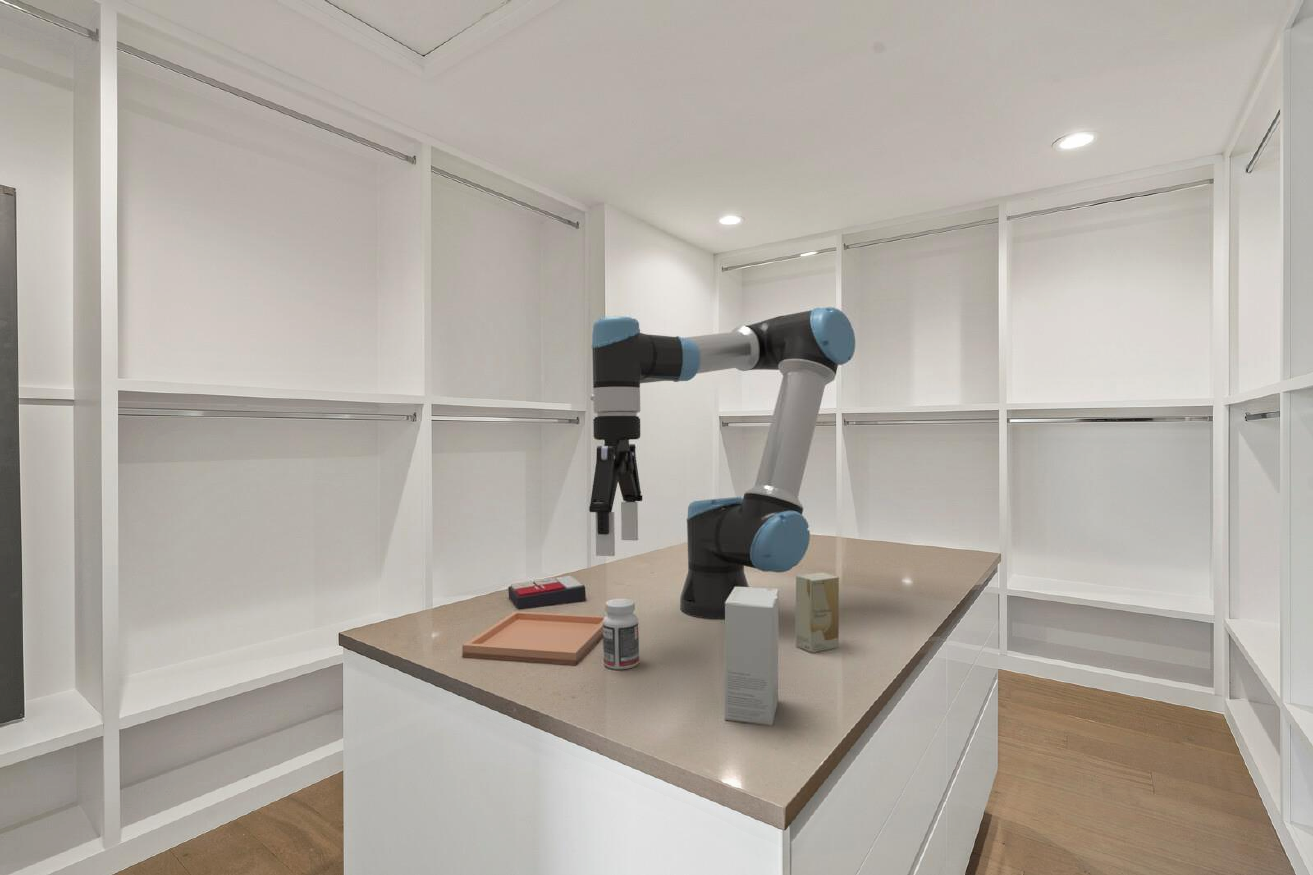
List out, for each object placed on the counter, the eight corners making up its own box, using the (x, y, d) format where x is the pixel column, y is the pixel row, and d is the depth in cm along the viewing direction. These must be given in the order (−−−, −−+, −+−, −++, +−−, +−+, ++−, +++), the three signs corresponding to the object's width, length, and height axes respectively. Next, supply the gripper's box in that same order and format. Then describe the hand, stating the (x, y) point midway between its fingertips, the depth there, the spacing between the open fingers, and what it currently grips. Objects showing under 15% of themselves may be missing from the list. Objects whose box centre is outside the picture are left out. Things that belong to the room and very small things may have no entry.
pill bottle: (641, 658, 105) (640, 598, 105) (636, 671, 99) (635, 607, 99) (606, 657, 105) (606, 597, 105) (600, 670, 100) (599, 607, 100)
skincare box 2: (811, 654, 106) (810, 580, 106) (794, 646, 110) (793, 575, 109) (840, 647, 109) (840, 576, 108) (823, 640, 112) (822, 571, 112)
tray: (611, 627, 121) (611, 616, 121) (575, 665, 102) (575, 652, 102) (514, 621, 126) (514, 611, 126) (462, 657, 106) (462, 645, 106)
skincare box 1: (734, 695, 90) (733, 585, 90) (781, 700, 88) (780, 588, 88) (723, 721, 82) (721, 600, 81) (775, 728, 80) (774, 604, 80)
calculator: (507, 583, 144) (571, 572, 150) (508, 601, 144) (572, 591, 150) (517, 594, 134) (585, 582, 140) (518, 614, 134) (586, 602, 140)
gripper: (616, 416, 115) (618, 534, 115) (566, 413, 91) (568, 562, 91) (657, 416, 113) (658, 535, 113) (616, 412, 89) (618, 564, 89)
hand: (618, 547), depth 102 cm, fingers open, 13 cm apart
